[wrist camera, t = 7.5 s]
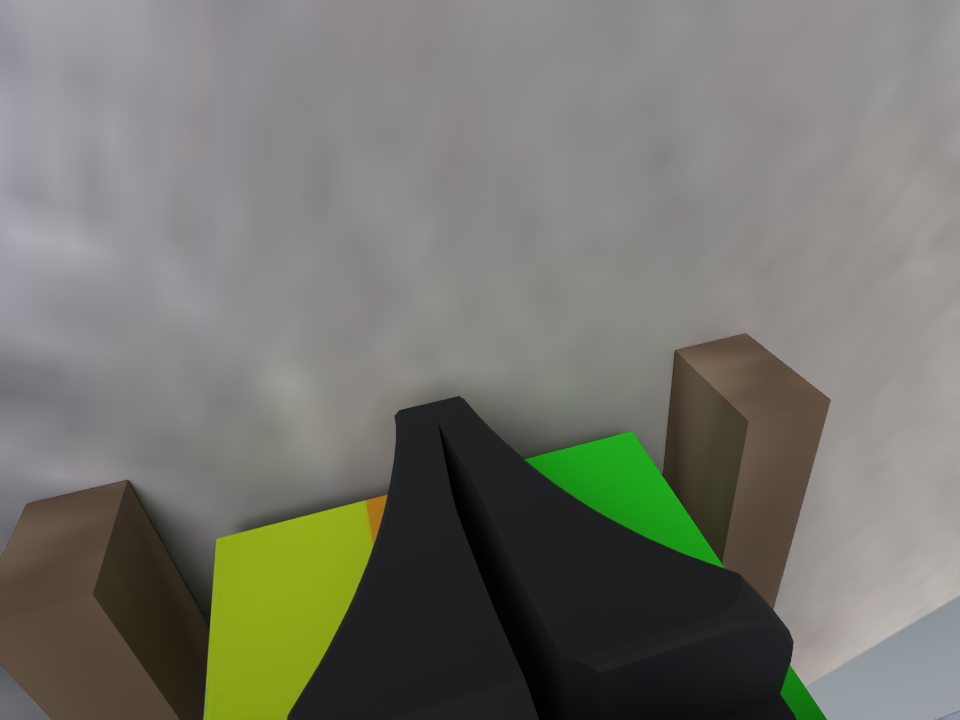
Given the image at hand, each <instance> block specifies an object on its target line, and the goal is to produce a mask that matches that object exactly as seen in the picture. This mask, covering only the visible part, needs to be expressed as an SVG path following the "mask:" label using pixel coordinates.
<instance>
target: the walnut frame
mask: <svg viewBox="0 0 960 720" xmlns="http://www.w3.org/2000/svg"><path fill="white" fill-rule="evenodd" d="M830 401H831V400H830V399H829V398H828V397H827V396H825V395H824V394H823V393H821V392H820V391H819V390H818V389H816V388H815V387H814V386H813V385H811V384H810V383H809V382H807V381H806V380H805V379H804V378H802V377H801V376H800V375H799V374H797V373H796V372H795V371H793V370H792V369H791V368H790V367H788V366H787V365H786V364H785V363H783V362H782V361H781V360H779V359H778V358H777V357H776V356H774V355H773V354H772V353H770V352H769V351H768V350H767V349H765V348H764V347H763V346H762V345H760V344H759V343H758V342H756V341H755V340H754V339H753V338H751V337H750V336H749V335H748V334H742V335H738V336H734V337H730V338H726V339H721V340H717V341H713V342H709V343H704V344H700V345H696V346H692V347H688V348H683V349H679V350H675V360H674V370H673V381H672V391H671V401H670V412H669V422H668V432H667V443H666V453H665V463H664V474H663V477H664V479H665V480H666V482H667V483H668V485H669V486H670V488H671V489H672V491H673V492H674V494H675V495H676V497H677V498H678V500H679V501H680V503H681V504H682V506H683V507H684V509H685V510H686V512H687V513H688V515H689V516H690V517H691V519H692V520H693V522H694V523H695V525H696V526H697V528H698V529H699V531H700V532H701V534H702V535H703V537H704V538H705V540H706V541H707V543H708V544H709V546H710V547H711V549H712V550H713V552H714V553H715V555H716V556H717V557H718V559H719V560H720V562H721V563H722V565H723V566H724V568H725V569H728V570H730V571H733V572H736V573H739V574H741V576H742V577H743V578H744V579H745V580H746V581H747V582H748V583H749V584H750V585H751V586H752V587H753V588H754V589H755V590H756V591H757V592H758V593H759V594H760V595H761V597H762V598H763V599H764V600H765V601H766V602H767V603H768V604H769V606H770V607H771V608H772V609H773V608H774V605H775V601H776V597H777V594H778V590H779V586H780V583H781V579H782V576H783V572H784V568H785V565H786V561H787V557H788V554H789V550H790V546H791V543H792V539H793V536H794V532H795V528H796V525H797V521H798V517H799V514H800V510H801V506H802V503H803V499H804V496H805V492H806V488H807V485H808V481H809V477H810V474H811V470H812V466H813V463H814V459H815V455H816V452H817V448H818V445H819V441H820V437H821V434H822V430H823V426H824V423H825V419H826V415H827V412H828V408H829V405H830ZM209 634H210V628H209V626H208V624H207V623H206V621H205V619H204V617H203V615H202V614H201V612H200V610H199V608H198V606H197V605H196V603H195V601H194V599H193V597H192V596H191V594H190V592H189V590H188V588H187V587H186V585H185V583H184V581H183V579H182V578H181V576H180V574H179V572H178V570H177V569H176V567H175V565H174V563H173V561H172V560H171V558H170V556H169V554H168V552H167V551H166V549H165V547H164V545H163V543H162V542H161V540H160V538H159V536H158V535H157V533H156V531H155V529H154V527H153V526H152V524H151V522H150V520H149V518H148V517H147V515H146V513H145V511H144V509H143V508H142V506H141V504H140V502H139V500H138V499H137V497H136V495H135V493H134V491H133V490H132V488H131V486H130V484H129V482H128V481H127V480H126V481H122V482H118V483H113V484H109V485H105V486H101V487H96V488H92V489H88V490H84V491H79V492H75V493H71V494H67V495H63V496H58V497H54V498H50V499H46V500H41V501H37V502H33V503H29V504H26V506H25V508H24V511H23V513H22V515H21V517H20V519H19V521H18V523H17V525H16V527H15V529H14V531H13V534H12V536H11V538H10V540H9V542H8V544H7V546H6V548H5V550H4V552H3V554H2V557H1V559H0V664H1V665H2V666H3V667H4V668H5V669H6V670H7V671H8V672H9V673H10V674H11V676H12V677H13V678H14V679H15V680H16V681H17V682H18V683H19V684H20V685H21V686H22V688H23V689H24V690H25V691H26V692H27V693H28V694H29V695H30V696H31V697H32V698H33V700H34V701H35V702H36V703H37V704H38V705H39V706H40V707H41V708H42V709H43V710H44V712H45V713H46V714H47V715H48V716H49V717H50V718H51V719H52V720H203V719H204V705H205V690H206V676H207V662H208V648H209Z"/></svg>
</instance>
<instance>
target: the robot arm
mask: <svg viewBox="0 0 960 720" xmlns="http://www.w3.org/2000/svg"><path fill="white" fill-rule="evenodd" d="M395 422H396V447H395V457H394V464H393V470H392V476H391V482H390V487H389V492H388V496H387V500H386V504H385V508H384V512H383V516H382V520H381V523H380V527H379V530H378V533H377V537H376V540H375V543H374V546H373V548H372V551H371V554H370V557H369V560H368V563H367V565H366V568H365V570H364V572H363V575H362V577H361V580H360V582H359V585H358V587H357V590H356V592H355V594H354V596H353V599H352V601H351V603H350V605H349V607H348V610H347V612H346V614H345V616H344V618H343V619H342V621H341V623H340V625H339V627H338V629H337V631H336V633H335V635H334V637H333V639H332V641H331V643H330V645H329V647H328V649H327V651H326V652H325V654H324V656H323V658H322V660H321V661H320V663H319V665H318V666H317V668H316V670H315V671H314V673H313V675H312V676H311V678H310V679H309V681H308V683H307V684H306V686H305V688H304V689H303V691H302V692H301V694H300V696H299V697H298V699H297V701H296V702H295V704H294V705H293V707H292V709H291V710H290V712H289V714H288V716H287V720H796V717H795V715H794V713H793V712H792V710H791V709H790V707H789V706H788V704H787V703H786V702H785V700H784V699H783V697H782V696H781V694H780V693H781V690H782V687H783V684H784V681H785V678H786V675H787V672H788V668H789V665H790V662H791V657H792V650H793V639H792V637H791V634H790V632H789V630H788V629H787V627H786V626H785V625H784V623H783V622H782V621H781V619H780V618H779V617H778V616H777V614H776V613H775V612H774V610H773V609H772V608H771V607H770V606H769V604H768V603H767V602H766V601H765V600H764V599H763V598H762V597H761V595H760V594H759V593H758V592H757V591H756V590H755V589H754V588H753V587H752V586H751V585H750V584H749V583H748V582H747V581H746V580H745V579H744V578H743V577H742V576H741V574H739V573H736V572H733V571H730V570H728V569H725V568H722V567H719V566H716V565H714V564H711V563H708V562H705V561H702V560H700V559H697V558H694V557H691V556H689V555H686V554H683V553H681V552H678V551H676V550H674V549H671V548H669V547H667V546H665V545H662V544H660V543H658V542H655V541H653V540H651V539H649V538H646V537H644V536H643V535H641V534H639V533H637V532H635V531H633V530H631V529H629V528H627V527H625V526H623V525H621V524H619V523H617V522H615V521H613V520H611V519H610V518H608V517H606V516H604V515H603V514H601V513H599V512H598V511H596V510H594V509H593V508H591V507H589V506H588V505H586V504H584V503H583V502H581V501H580V500H578V499H577V498H575V497H574V496H572V495H571V494H569V493H568V492H566V491H565V490H563V489H562V488H561V487H559V486H558V485H556V484H555V483H554V482H552V481H551V480H550V479H548V478H547V477H546V476H544V475H543V474H542V473H540V472H539V471H538V470H537V469H535V468H534V467H533V466H532V465H530V464H529V463H528V462H527V461H526V460H524V459H523V458H522V457H521V456H520V455H519V454H517V453H516V452H515V451H514V450H513V449H512V448H511V447H510V446H509V445H507V444H506V443H505V442H504V441H503V440H502V439H501V438H500V437H499V436H498V435H497V434H496V433H495V432H494V431H493V430H492V429H491V428H490V427H489V426H488V425H487V424H486V423H485V422H484V421H483V420H482V419H481V418H480V417H479V416H478V415H477V414H476V413H475V412H474V410H473V409H472V408H471V407H470V406H469V405H468V403H467V402H466V401H465V400H464V399H463V398H461V397H459V396H458V397H454V398H449V399H445V400H441V401H437V402H432V403H428V404H424V405H420V406H415V407H411V408H407V409H403V410H399V411H398V413H397V414H396V415H395ZM936 720H960V711H957V712H954V713H952V714H949V715H947V716H944V717H941V718H939V719H936Z"/></svg>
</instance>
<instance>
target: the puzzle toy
mask: <svg viewBox="0 0 960 720" xmlns="http://www.w3.org/2000/svg"><path fill="white" fill-rule="evenodd" d="M524 460H526V461H527V462H528V463H529V464H530V465H532V466H533V467H534V468H535V469H537V470H538V471H539V472H540V473H542V474H543V475H544V476H546V477H547V478H548V479H550V480H551V481H552V482H554V483H555V484H556V485H558V486H559V487H561V488H562V489H563V490H565V491H566V492H568V493H569V494H571V495H572V496H574V497H575V498H577V499H578V500H580V501H581V502H583V503H584V504H586V505H588V506H589V507H591V508H593V509H594V510H596V511H598V512H599V513H601V514H603V515H604V516H606V517H608V518H610V519H611V520H613V521H615V522H617V523H619V524H621V525H623V526H625V527H627V528H629V529H631V530H633V531H635V532H637V533H639V534H641V535H643V536H644V537H646V538H649V539H651V540H653V541H655V542H658V543H660V544H662V545H665V546H667V547H669V548H671V549H674V550H676V551H678V552H681V553H683V554H686V555H689V556H691V557H694V558H697V559H700V560H702V561H705V562H708V563H711V564H714V565H716V566H719V567H722V568H724V566H723V565H722V563H721V562H720V560H719V559H718V557H717V556H716V555H715V553H714V552H713V550H712V549H711V547H710V546H709V544H708V543H707V541H706V540H705V538H704V537H703V535H702V534H701V532H700V531H699V529H698V528H697V526H696V525H695V523H694V522H693V520H692V519H691V517H690V516H689V515H688V513H687V512H686V510H685V509H684V507H683V506H682V504H681V503H680V501H679V500H678V498H677V497H676V495H675V494H674V492H673V491H672V489H671V488H670V486H669V485H668V483H667V482H666V480H665V479H664V477H663V476H662V475H661V473H660V472H659V470H658V469H657V467H656V466H655V464H654V463H653V461H652V460H651V458H650V457H649V455H648V454H647V452H646V451H645V449H644V448H643V446H642V445H641V443H640V442H639V440H638V439H637V437H636V436H635V435H634V433H633V432H628V433H624V434H620V435H616V436H612V437H608V438H604V439H601V440H597V441H593V442H589V443H585V444H581V445H577V446H573V447H570V448H566V449H562V450H558V451H554V452H550V453H546V454H542V455H539V456H535V457H531V458H527V459H524ZM387 496H388V494H387V495H384V496H380V497H376V498H372V499H368V500H364V501H360V502H356V503H353V504H349V505H345V506H341V507H337V508H333V509H329V510H325V511H322V512H318V513H314V514H310V515H306V516H302V517H298V518H295V519H291V520H287V521H283V522H279V523H275V524H271V525H267V526H264V527H260V528H256V529H252V530H248V531H244V532H240V533H236V534H233V535H229V536H225V537H221V538H217V539H216V549H215V563H214V577H213V591H212V605H211V620H210V634H209V648H208V662H207V676H206V690H205V705H204V719H203V720H287V716H288V714H289V712H290V710H291V709H292V707H293V705H294V704H295V702H296V701H297V699H298V697H299V696H300V694H301V692H302V691H303V689H304V688H305V686H306V684H307V683H308V681H309V679H310V678H311V676H312V675H313V673H314V671H315V670H316V668H317V666H318V665H319V663H320V661H321V660H322V658H323V656H324V654H325V652H326V651H327V649H328V647H329V645H330V643H331V641H332V639H333V637H334V635H335V633H336V631H337V629H338V627H339V625H340V623H341V621H342V619H343V618H344V616H345V614H346V612H347V610H348V607H349V605H350V603H351V601H352V599H353V596H354V594H355V592H356V590H357V587H358V585H359V582H360V580H361V577H362V575H363V572H364V570H365V568H366V565H367V563H368V560H369V557H370V554H371V551H372V548H373V546H374V543H375V540H376V537H377V533H378V530H379V527H380V523H381V520H382V516H383V512H384V508H385V504H386V500H387ZM780 694H781V696H782V697H783V699H784V700H785V702H786V703H787V704H788V706H789V707H790V709H791V710H792V712H793V713H794V715H795V717H796V720H827V719H826V718H825V716H824V715H823V713H822V712H821V710H820V709H819V707H818V706H817V704H816V703H815V701H814V700H813V698H812V697H811V696H810V694H809V692H808V691H807V689H806V688H805V686H804V685H803V683H802V682H801V680H800V679H799V678H798V676H797V675H796V673H795V672H794V670H793V669H792V667H791V666H790V665H789V668H788V672H787V675H786V678H785V681H784V684H783V687H782V690H781V693H780Z"/></svg>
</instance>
